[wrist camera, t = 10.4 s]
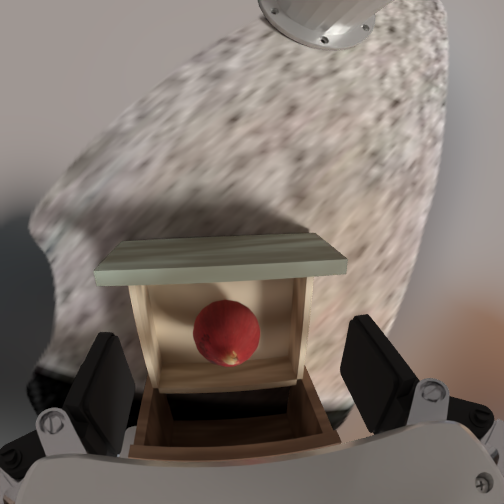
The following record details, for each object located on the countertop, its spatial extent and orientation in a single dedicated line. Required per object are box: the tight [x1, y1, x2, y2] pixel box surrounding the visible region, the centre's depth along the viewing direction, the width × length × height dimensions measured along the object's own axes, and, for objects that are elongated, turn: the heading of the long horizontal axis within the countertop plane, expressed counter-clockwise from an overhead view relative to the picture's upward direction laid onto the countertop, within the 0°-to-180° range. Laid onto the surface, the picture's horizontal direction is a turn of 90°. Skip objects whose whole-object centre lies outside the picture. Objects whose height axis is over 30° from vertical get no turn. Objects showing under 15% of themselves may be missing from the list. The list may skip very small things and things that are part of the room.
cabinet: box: [128, 365, 341, 462], centre depth 28 cm, size 12×19×14 cm
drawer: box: [94, 233, 348, 393], centre depth 26 cm, size 15×19×8 cm
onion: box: [193, 299, 260, 367], centre depth 24 cm, size 6×6×8 cm
